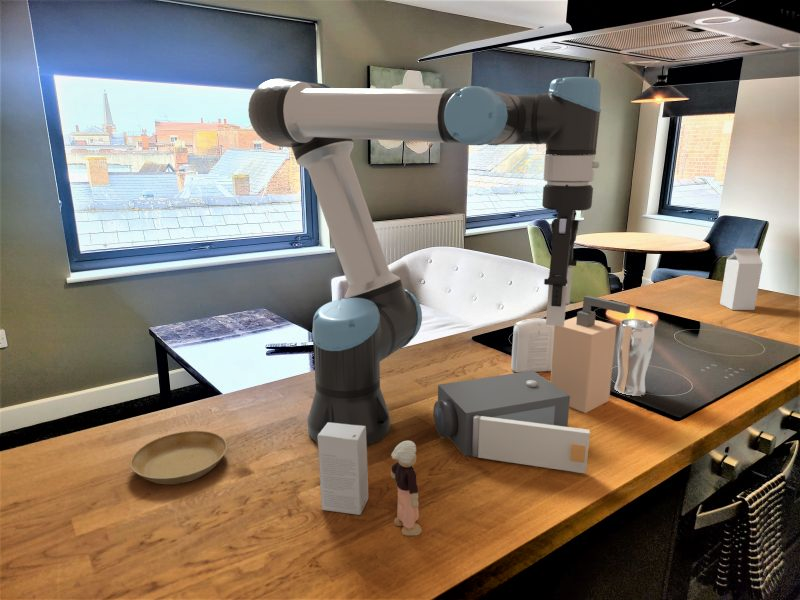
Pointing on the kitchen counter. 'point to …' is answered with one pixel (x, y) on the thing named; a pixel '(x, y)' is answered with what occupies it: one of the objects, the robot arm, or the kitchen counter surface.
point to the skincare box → (343, 468)
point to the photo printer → (532, 346)
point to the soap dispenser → (585, 355)
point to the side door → (530, 443)
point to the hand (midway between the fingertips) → (558, 313)
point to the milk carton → (741, 280)
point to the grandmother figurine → (406, 488)
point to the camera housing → (497, 404)
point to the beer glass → (633, 355)
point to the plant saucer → (179, 457)
